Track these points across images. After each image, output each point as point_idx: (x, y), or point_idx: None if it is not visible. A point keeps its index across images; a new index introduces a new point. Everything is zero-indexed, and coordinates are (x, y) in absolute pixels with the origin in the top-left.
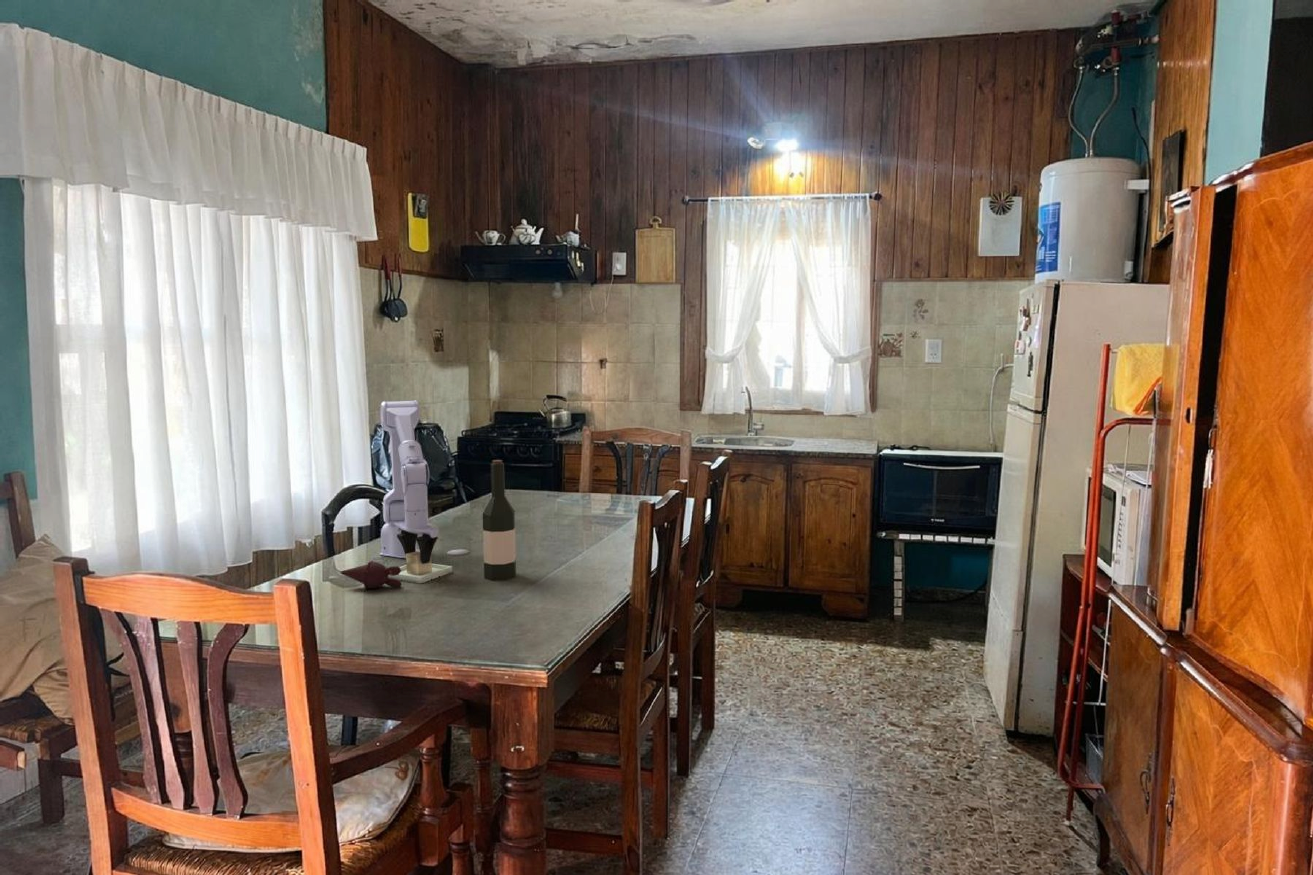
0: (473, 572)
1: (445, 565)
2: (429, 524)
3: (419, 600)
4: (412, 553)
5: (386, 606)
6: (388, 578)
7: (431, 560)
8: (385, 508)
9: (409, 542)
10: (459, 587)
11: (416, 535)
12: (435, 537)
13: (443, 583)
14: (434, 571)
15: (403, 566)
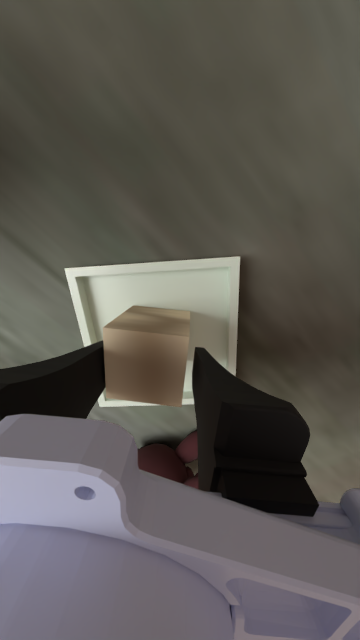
0: (312, 219)
1: (207, 259)
2: (118, 514)
3: (314, 469)
4: (126, 384)
5: None
6: (184, 461)
7: (189, 323)
8: None
9: (71, 413)
10: (354, 372)
11: (34, 389)
12: (300, 444)
13: (288, 364)
14: (195, 305)
15: (89, 341)
